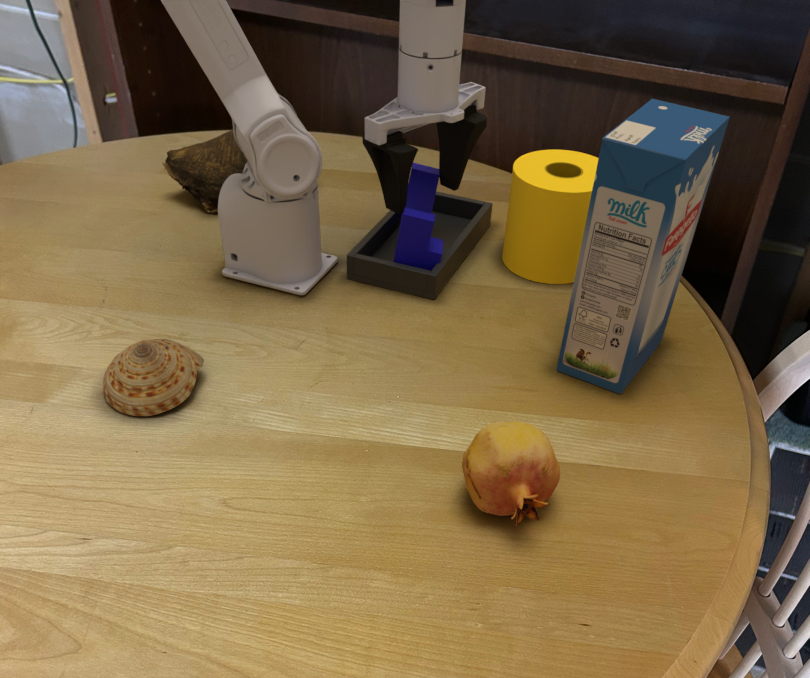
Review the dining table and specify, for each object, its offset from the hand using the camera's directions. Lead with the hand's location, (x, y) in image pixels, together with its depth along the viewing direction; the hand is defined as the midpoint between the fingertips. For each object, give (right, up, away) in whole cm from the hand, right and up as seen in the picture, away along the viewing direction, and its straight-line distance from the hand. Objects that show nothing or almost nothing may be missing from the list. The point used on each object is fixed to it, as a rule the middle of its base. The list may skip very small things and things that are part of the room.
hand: (422, 198), depth 82 cm
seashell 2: (-21, +5, +12) cm, 25 cm away
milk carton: (+17, -18, -8) cm, 26 cm away
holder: (0, -4, +4) cm, 6 cm away
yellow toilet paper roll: (+14, -5, +4) cm, 15 cm away
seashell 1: (-23, -22, -13) cm, 35 cm away
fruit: (+6, -32, -22) cm, 39 cm away
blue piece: (-1, -4, +3) cm, 5 cm away
